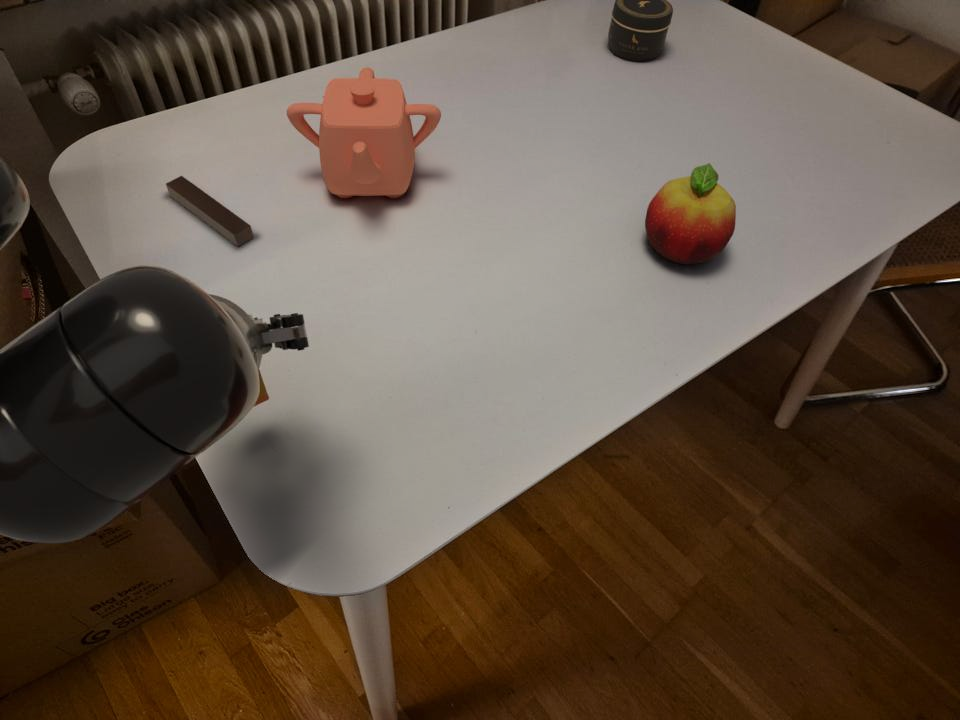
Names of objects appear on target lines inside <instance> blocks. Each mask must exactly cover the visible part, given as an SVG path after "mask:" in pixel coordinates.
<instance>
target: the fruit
mask: <svg viewBox="0 0 960 720" xmlns="http://www.w3.org/2000/svg"><path fill="white" fill-rule="evenodd" d="M718 181H719V174H718V172H717V171H716V169H714V167H713V166H712V164H711V163H710V162H709V163H707V164H704V165H699V166H696V167H694V168H693V170H692V171H691V174H690V175H689V176H681V177H678V178H677V177H676V178H674V179H671V180H669V181H667V182H666V183H664V184H663V185H662V187H661V188H660V189H659V190H658V191H657V192H656V194H655V195H654V196H653V197H652V199H651V200H650V202H649V203H648V206H647V209H646V215H645V220H644V229H645V233H646V235H647V239H648V241H649V243H650V245H651V246H652V247H653V249H654V250H655V251H656V252H657V254H659V255H661V256H662V257H663V258H664V259H666V260H668V261H671V262H673V263H676V264H682V265H696V264H699V263H704V262H707V261H709V260H711V259H712V258H714V257H716V256H717V255H718V254H720V253H722V251H723V250H724V249H725V248H726V247H727V245H728V243H729V242H730V241H731V239H732V237H733V235H734V233H735V230H736V219H737V207H736V203H735V200H734V199H733V197H732V195H731V194H730V193H729V191H727V190H726V189H725V188H724V187H723V186H722V185H721V184H719V182H718Z"/></svg>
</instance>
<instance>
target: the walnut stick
mask: <svg viewBox="0 0 960 720" xmlns="http://www.w3.org/2000/svg"><path fill="white" fill-rule="evenodd" d="M165 186H166V189H167V191H168V194H169V196H170V197H171V198H172V199H173V200H175V201H176V202H177V203H179V204H180V205H181V206H182V207H184V208H185V209H187V210H188V211H189V212H190V213H192V214H193V215H194V216H196V217H198V218H199V219H200V220H201V221H203V222H204V223H206V224H207V225H208V226H209V227H211V229H213V230H214V231H216V232H217V233H219V234H220V235H221V236H223V237H224V238H225V239H227V240H228V241H229V242H231V243H232V244H233V245H235V246H236V247H237V248H239V247H241V246H243V245H244V244H246V243H248V242H249V241H251V240H252V239H254V237H255V236H254V233H253V230H252V226H251V224H249V223H248V222H247V221H245V220H244V219H242V218H241V217H240V216H238V215H236V214H235V213H234V212H232V210H230V209H229V208H227V207H226V206H224V205H223V204H222V203H220V202H219V201H217V200H216V199H215V198H213V197H212V196H211V195H210V194H208V193H206V192H205V191H204V190H202V189H201V188H199V187H198V186H197V185H196V184H194V183H192V182H191V181H190V180H188V179H187V178H186V177H184V176H183V175H180V176H178V177H176V178H174V179H171V180H170V181H168V182H166V183H165Z"/></svg>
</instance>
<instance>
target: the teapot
mask: <svg viewBox="0 0 960 720" xmlns="http://www.w3.org/2000/svg"><path fill="white" fill-rule="evenodd" d="M402 86H403V85H402V84H401V81H399V80H398V79H397V78H396V79H394V78H378V77H377V78H376V77H375V73H374V70H373V69H372V68H370V67H362V68H361V70H360V71H359V75H358V77H339V78H337V77H336V78H332V79H330V81H329V82H328V83H327V85H326V88H325V90H324V94H323V99H322V103H318V102H296V103H292V104H290V105H289V106H288V107H287V109H286V117H287V118H288V120H289V122H290V124H291V125H292V126H293V128H294V129H295V130H296V131H297V132H298V133H300V135H302V136H303V137H304V138H305V139H306V140H308V141H309V142H310V143H312V144H313V145H314V146H316V148H318V150H319V152H318V153H319V163H320V169H321V174H322V175H321V176H322V179H323V181H324V184H325V185H326V188H327V190H328V191H329V192H330V193H331V194H333V195H336V196H337V197H338V198H341V199H349V198H352V197H353V196H366V197H367V196H369V197H370V196H371V197H373V196H386V197H387V198H392V199H397V198H400V197H402V196H403V195H404V194H405V193H406V192H407V191H408V188H409V186H410V183H411V181H412V176H413V172H414V167H415V161H416V149H417V148H418V147H419V146H420V145H421V144H422V143H423V142H424V141H425V140H426V139H427V138H428V137H429V136H430V135H431V134H432V133H433V132H434V131H435V130H436V128H437V127H438V125H439V123H440V121H441V118H442V111H441V110H440V108H439V107H438V106H436V105H435V104H429V103H407V100H406V99H407V98H406V96H405V92H404V89H403V87H402ZM304 115H318V116H319V115H320V119H319V131H318V133H317V132H316V131H315V130H314V129H313V128H312V126H311V125H310V124H309V123H308V121H307V120H306V119H305V117H304ZM411 116H424V117H425V118H424V121H423V123H422V125H421V126H420V128H419V130H418V131H417V132H416V133H415V135H414V130H413V125H412V120H411Z"/></svg>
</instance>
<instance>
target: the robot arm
mask: <svg viewBox="0 0 960 720" xmlns="http://www.w3.org/2000/svg"><path fill="white" fill-rule="evenodd" d="M30 205H31V199H30V195H29V191H28V189H27V187H26V184H25V182H24V181H23V179H22V178H21V176H20V175H19V174H18V173H17V171H15V169H14V168H13V167H12V165H11V164H10V163H9V162H8V161H7V160H6V159H5V157H3V155H1V154H0V253H1V252H2V250H4V249H5V248H6V246H7V245H8V244H9V243H10V241H11V240H12V239H13V238H14V237H15V236H16V235H17V233H18V232H19V231H20V229H21V228H22V227H23V224H24V223H25V221H26V219H27V217H28V215H29V212H30ZM268 319H269V323H268V322H266V321H265V322H264V319H263V318H262V317H261V318H260V317H259V318H258V317H257V316H256V317H254V316H253V315H252V314H248V313H247V312H246V311H245V310H244V309H243V308H242V307H240V306H239V305H238V304H236V303H235V302H233V301H231V300H230V299H227V298H225V297H223V296H219V295H216V294H211V293H208V292H206V290H204V288H201V287H200V286H199V285H198V284H196V283H195V282H193V281H192V280H190V279H189V278H187V277H186V276H184V275H181V274H179V273H177V272H175V271H174V270H172V269H168V268H165V267H162V266H159V265H158V266H157V265H150V264H148V265H147V264H141V265H135V266H130V267H127V268H123V269H120V270H117V271H115V272H113V273H111V274H108V275H106V276H104V277H101V279H98V280H97V281H96V282H93V283H92V284H90V285H89V286H87V287H86V288H84V289H83V290H82V291H80V292H79V293H77V294H76V295H74V297H72V298H70V299H68V300H67V301H66V302H65V303H63V305H62V306H60V307H58V308H57V309H55V310H54V311H52V312H50V313H49V314H48V315H47V316H45V317H44V318H42V319H41V320H39V321H38V322H37V323H35V324H34V325H33V326H31V327H30V328H28V329H27V330H26V331H24V332H23V333H21V334H20V335H18V337H16V338H15V339H13V340H12V341H10V342H9V343H7V344H6V345H5V346H3V347H2V348H0V536H3V537H4V536H5V537H7V538H10V539H13V540H16V541H21V542H22V541H23V542H29V543H33V544H51V545H57V544H66V543H68V544H69V543H73V542H77V541H80V540H83V539H86V538H88V537H90V536H92V535H94V534H96V533H97V532H99V531H101V530H103V529H104V528H105V527H107V526H108V525H109V524H111V523H112V522H114V521H115V520H117V519H118V518H119V517H120V516H122V515H123V514H124V513H125V512H127V511H128V510H130V509H131V508H132V507H134V506H135V505H136V504H137V503H139V502H140V501H141V500H142V499H144V498H145V497H147V495H149V494H150V493H152V492H153V491H155V489H157V488H158V487H159V486H160V485H162V484H163V483H164V482H166V481H167V480H168V479H170V478H171V477H172V476H174V474H176V473H178V471H180V470H181V469H183V468H184V467H185V466H186V465H187V464H189V463H191V461H193V460H194V459H195V458H196V457H198V456H199V455H200V454H202V453H204V452H205V451H207V450H208V449H209V448H210V447H211V446H213V445H215V444H216V443H217V442H218V441H219V440H221V439H222V438H223V437H225V436H226V435H227V434H228V433H230V431H232V430H233V429H234V428H235V427H236V426H238V424H240V422H241V421H243V419H244V418H245V417H246V416H247V415H248V414H249V413H250V412H251V410H253V408H254V407H255V406H254V405H255V403H256V401H257V398H258V396H259V390H260V383H259V373H258V370H260V367H261V363H262V360H263V355H266V354H268V353H270V351H272V349H273V344H274V348H276V349H280V350H281V349H282V351H287V350H297V351H299V352H300V351H304V350H305V349H306V348H309V347H310V345H309V339H308V334H307V333H308V332H307V328H306V324H305V317H304V313H303V314H302V313H300V314H299V312H295V313H290V314H281V313H276V314H273V316H270V317H269V318H268ZM253 406H254V407H253Z"/></svg>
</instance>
